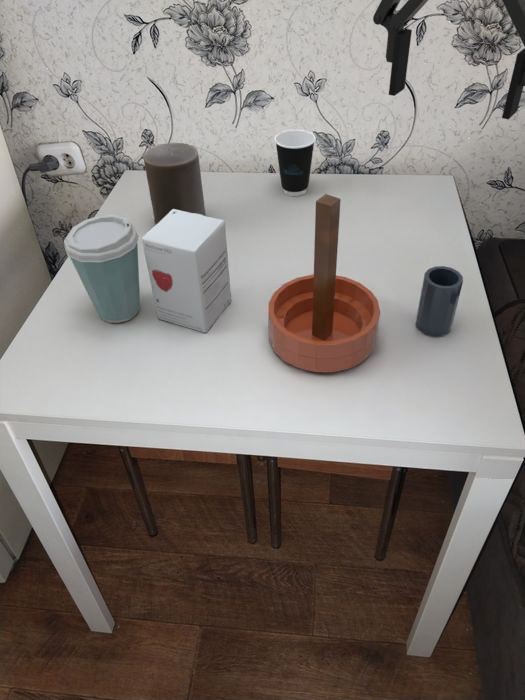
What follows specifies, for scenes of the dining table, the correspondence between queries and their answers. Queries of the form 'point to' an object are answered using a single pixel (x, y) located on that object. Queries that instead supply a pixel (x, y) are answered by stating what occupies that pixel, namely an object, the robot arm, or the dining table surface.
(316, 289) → the stirring stick
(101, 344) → the dining table surface
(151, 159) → the pillar candle
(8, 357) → the dining table surface
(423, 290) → the gray pipe section
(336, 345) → the bowl
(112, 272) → the disposable coffee cup
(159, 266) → the rectangular carton
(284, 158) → the dixie cup
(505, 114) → the robot arm
